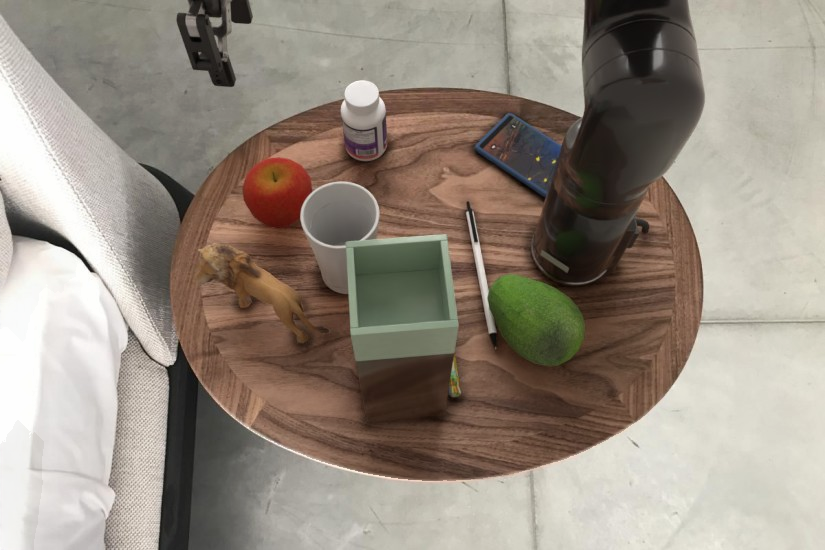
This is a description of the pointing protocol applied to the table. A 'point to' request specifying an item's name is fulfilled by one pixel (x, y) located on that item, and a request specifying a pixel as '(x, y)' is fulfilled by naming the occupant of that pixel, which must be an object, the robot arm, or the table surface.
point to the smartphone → (521, 152)
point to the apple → (276, 191)
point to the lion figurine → (253, 285)
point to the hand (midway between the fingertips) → (234, 51)
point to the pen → (481, 274)
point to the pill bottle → (364, 121)
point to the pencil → (454, 381)
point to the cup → (338, 226)
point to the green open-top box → (402, 324)
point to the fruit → (536, 319)
